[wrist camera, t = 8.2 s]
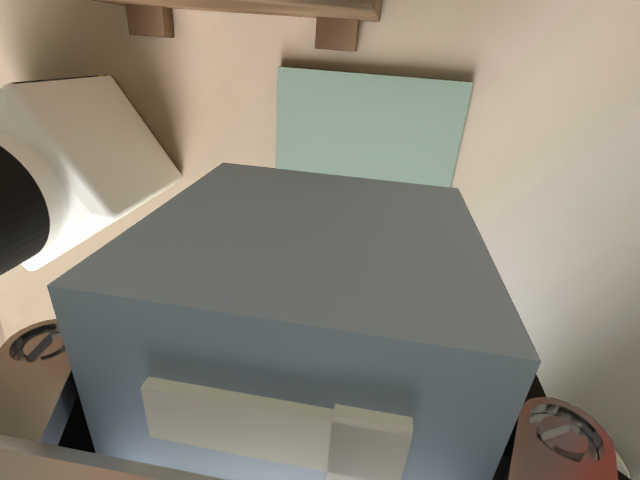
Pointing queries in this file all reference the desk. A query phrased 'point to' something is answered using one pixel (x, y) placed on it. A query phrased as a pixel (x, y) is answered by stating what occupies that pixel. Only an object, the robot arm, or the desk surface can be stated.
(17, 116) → the medicine bottle
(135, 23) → the screen
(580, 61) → the desk surface
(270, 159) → the desk surface
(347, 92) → the pad
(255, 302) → the letter cube
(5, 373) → the robot arm
